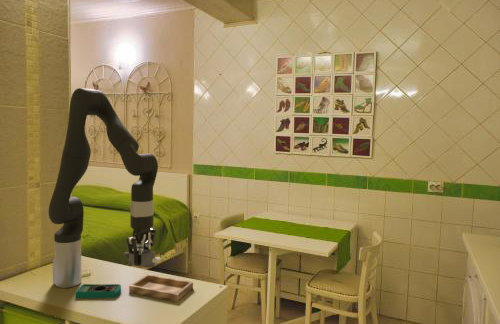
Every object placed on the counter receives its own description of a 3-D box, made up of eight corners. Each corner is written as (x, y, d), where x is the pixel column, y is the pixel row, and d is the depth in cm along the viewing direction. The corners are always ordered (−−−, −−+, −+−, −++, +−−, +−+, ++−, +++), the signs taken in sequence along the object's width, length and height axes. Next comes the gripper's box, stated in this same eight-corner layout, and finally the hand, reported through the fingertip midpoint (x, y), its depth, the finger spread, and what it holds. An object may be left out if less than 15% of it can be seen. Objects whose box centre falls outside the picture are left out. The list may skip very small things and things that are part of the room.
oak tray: (129, 292, 145) (129, 285, 144) (147, 280, 156) (147, 274, 156) (177, 302, 138) (177, 294, 138) (193, 288, 150) (193, 282, 150)
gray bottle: (120, 263, 134) (120, 250, 133) (128, 258, 138) (128, 246, 138) (155, 269, 129) (155, 256, 129) (162, 264, 134) (162, 252, 133)
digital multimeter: (117, 299, 140) (117, 291, 140) (74, 299, 139) (74, 291, 138) (122, 290, 147) (122, 283, 147) (81, 290, 146) (81, 283, 146)
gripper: (144, 207, 140) (144, 254, 142) (119, 216, 126) (119, 268, 128) (163, 210, 137) (162, 257, 139) (139, 219, 124) (139, 271, 126)
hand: (141, 262), depth 134 cm, fingers closed on gray bottle, 4 cm apart
